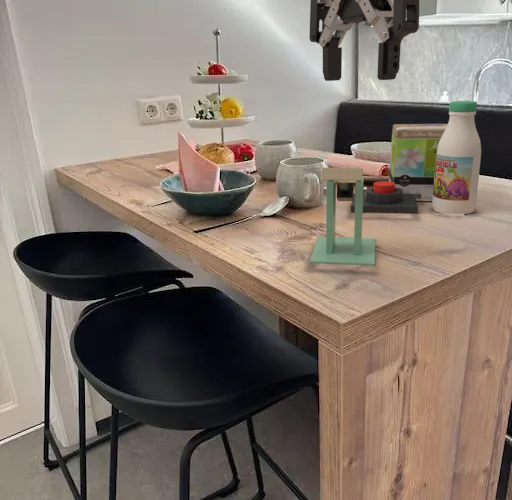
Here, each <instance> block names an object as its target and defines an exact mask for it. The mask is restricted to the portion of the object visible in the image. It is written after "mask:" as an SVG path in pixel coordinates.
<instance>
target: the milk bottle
mask: <svg viewBox="0 0 512 500" xmlns="http://www.w3.org/2000/svg"><path fill="white" fill-rule="evenodd" d="M477 109H478V101H476V100H475V101H474V100H456V101H455V100H454V101H450V102H449V104H448V115H449V119H448V122H447V124H448V125H447V127H446V129H445V131H444V133H443V135H442V137H441V139H440V141H439V144H438V148H437V155H436V164H435V175H434V188H433V201H431V207H432V210H433V211H434V212H437V213H440V214H453V215H454V214H456V215H458V214H459V215H460V214H461V215H469V214H472V213H474V212H475V210H476V205H477V198H478V197H477V196H478V189H479V179H480V169H481V168H480V167H481V158H482V144H481V138H480V135H479V132H478V131H477V130H478V129H477V127H476V121H475V115H477Z"/></svg>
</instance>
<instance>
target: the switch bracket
mask: <svg viewBox="0 0 512 500" xmlns="http://www.w3.org/2000/svg"><path fill="white" fill-rule="evenodd" d="M364 182H365V176H364V175H362V183H355V190H354V193H355V212H354V228H353V229H354V232H353V234H354V236H353V237H347V236H336V211H337V210H336V208H337V205H336V200H337V182H325V185H324V187H323V196H324V197H326V199H325V201H326V202H325V203H326V205H325V211H326V212H325V213H326V214H325V236H317V239H316V241H315V245H314V247H313V251H312V253H311V256H310V259H309V264H323V265H348V266H371V267H375V266H376V238H375V237H363V219H364V218H363V214H364V213H363V196H367V189H368V186H364Z"/></svg>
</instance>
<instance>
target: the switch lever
mask: <svg viewBox="0 0 512 500" xmlns="http://www.w3.org/2000/svg"><path fill="white" fill-rule="evenodd" d="M363 172H364V171H363V167H321V168H320V181H321V183H326V182H336V200H337V202H352V201H353V193H354V186H355V185H354V184H356V183H362V176H363Z"/></svg>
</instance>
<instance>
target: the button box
mask: <svg viewBox="0 0 512 500" xmlns="http://www.w3.org/2000/svg"><path fill="white" fill-rule="evenodd" d="M373 187H374V186H371V187H367V196H363V214H408V215H410V214H411V215H413V214H415V215H417V214H418V213H419V211H418V210H419V206H418V201H416V199H415V195H414V194H403V190H402V189H400V188H397V187H395V192H394V193H376V192H373ZM350 213H355V192H353V201H351V204H350Z"/></svg>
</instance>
